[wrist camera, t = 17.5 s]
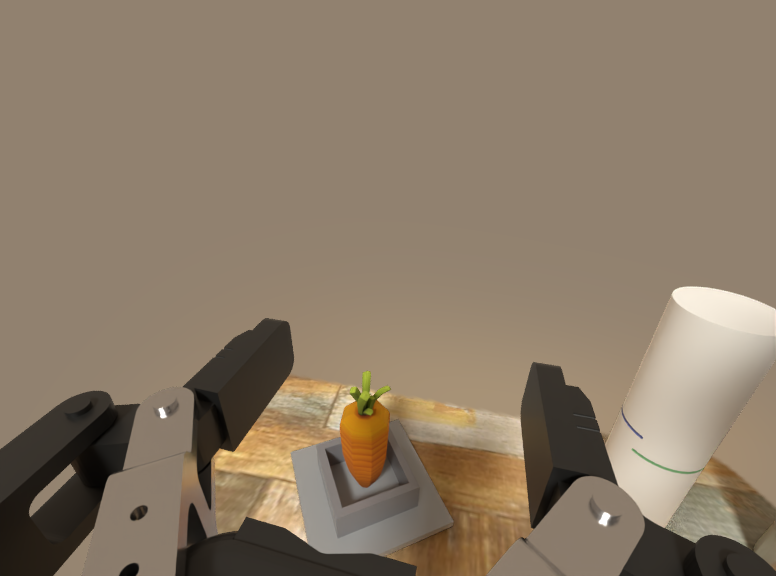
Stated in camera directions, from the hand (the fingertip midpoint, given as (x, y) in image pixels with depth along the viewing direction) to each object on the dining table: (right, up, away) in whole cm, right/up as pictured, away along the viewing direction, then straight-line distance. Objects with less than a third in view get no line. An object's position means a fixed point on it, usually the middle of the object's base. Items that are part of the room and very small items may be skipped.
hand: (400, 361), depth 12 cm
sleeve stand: (-3, -20, +28) cm, 35 cm away
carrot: (-3, -19, +28) cm, 34 cm away
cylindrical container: (+25, -21, +27) cm, 43 cm away
